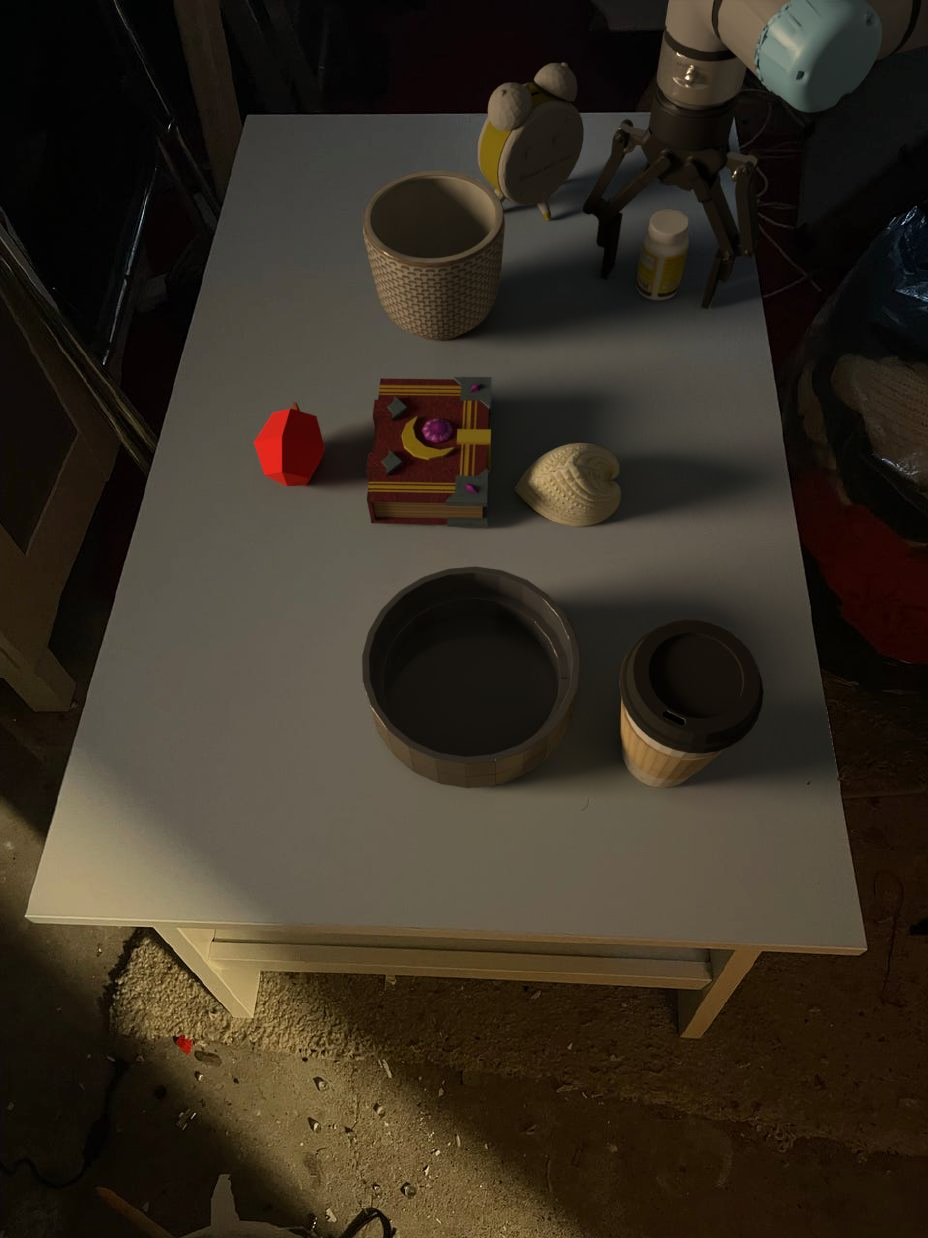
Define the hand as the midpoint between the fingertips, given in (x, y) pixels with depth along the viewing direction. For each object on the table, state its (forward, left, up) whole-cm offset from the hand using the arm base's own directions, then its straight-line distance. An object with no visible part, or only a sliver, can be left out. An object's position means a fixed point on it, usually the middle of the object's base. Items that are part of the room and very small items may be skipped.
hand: (657, 285), depth 99 cm
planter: (+20, +14, 0) cm, 24 cm away
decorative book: (+12, +32, 0) cm, 34 cm away
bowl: (-2, +53, 0) cm, 53 cm away
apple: (+24, +38, 0) cm, 45 cm away
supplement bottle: (0, 0, 0) cm, 0 cm away
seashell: (-2, +30, 0) cm, 30 cm away
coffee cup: (-18, +51, 0) cm, 55 cm away
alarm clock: (+18, -7, 0) cm, 19 cm away
